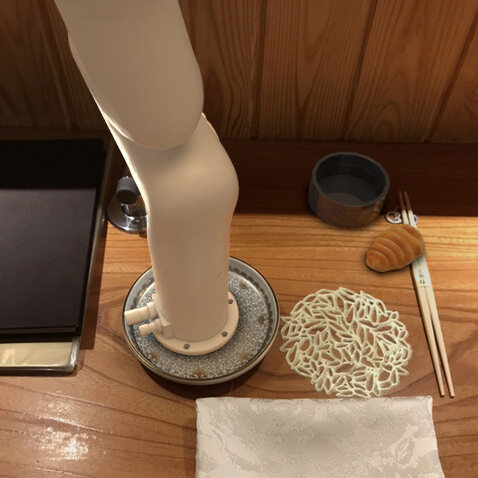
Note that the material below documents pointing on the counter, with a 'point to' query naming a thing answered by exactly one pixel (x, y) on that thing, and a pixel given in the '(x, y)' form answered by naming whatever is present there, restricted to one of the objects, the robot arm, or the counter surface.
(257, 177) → the counter surface
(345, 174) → the pot
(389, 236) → the pastry
